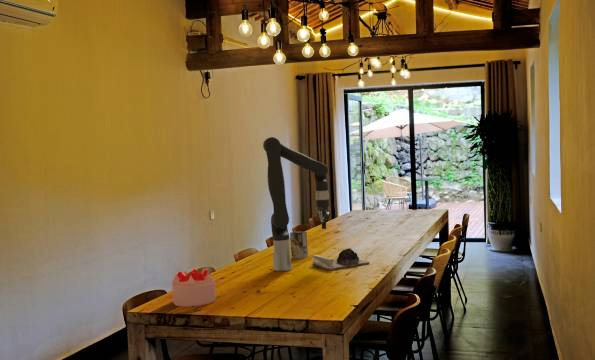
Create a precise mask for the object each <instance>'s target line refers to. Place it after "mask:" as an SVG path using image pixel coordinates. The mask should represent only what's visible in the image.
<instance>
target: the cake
mask: <svg viewBox="0 0 595 360" xmlns="http://www.w3.org/2000/svg"><path fill="white" fill-rule="evenodd" d="M171 284H172V285H171V287H172V288H171V289H172V300H173V301H172V302H173V305H174V306H176V307H180V308H181V307H182V308H184V307H186V308H191V307H192V306H193V307H200V306H206V305H208V304H212V303H213V302H215V301H216V300H217V291H216V280H215V279H214V277H213V276H212V275H211V271H209V269H205V268H203V269H202V271H201V272H200V271H199V270H198V269H196V268H194V269H193V270H192V271H191V272H189V273H188V272H187V270H185V271H184V273H183V272H182V271H178V272H177V273H176V274H175V276H174V278H173V280H172V281H171ZM193 307H192V308H193Z"/></svg>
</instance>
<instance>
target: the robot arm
mask: <svg viewBox="0 0 595 360" xmlns="http://www.w3.org/2000/svg"><path fill="white" fill-rule="evenodd" d="M262 147H263V149H264V151H265V154H266V159H267V185H268V186H267V187H268V191H269V196H270V198H271V202H272V206H273V213H272V214H271V217H270V226H271V234H272V235H271V236H272V240H273V241H272V242H273V243H272V244H273V253H272V259H273V260H272V261H273V270H274V271H275V272H285V271H287V272H288V271H290V270H292V254H291V241H290V232H289V229H288V224H289V223H290V216H289V212H288V208H287V201H286V200H287V198H286V185H285V177H284V171H283V167H282V161H281V160H282V158H283V159H285V160H286V161H290V162H291V163H293V164H294V165H296V166H299V167H300V168H303V169H304V170H307V171H310V172H312V173H313V175H314V180H315V181H314V182H315V207H316V208H318V209H317V210H318V211H317V212H315V213H316V216H317V218H318V221H319V222H320V223H321V229H322V230H326V229H327V222H329V219H330V216H331V212H329V208H328V207H330V194H329V184H328V181H327V174H328V172H329V168H328V166H327V165H326V164H324V163H323V162H320V161H318V160H315V159H314V158H312V157H309V156H308V155H305V154H303V153H301V152H298V151H296V150H293V149H292V148H290V147H287V146H285V145H283V143H281V142H280V140H279V138H278V137H275V136H270V137H268V138H266V139H264V141H263V144H262Z"/></svg>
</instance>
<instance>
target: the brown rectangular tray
mask: <svg viewBox="0 0 595 360" xmlns="http://www.w3.org/2000/svg"><path fill="white" fill-rule="evenodd" d="M369 264H370V261H366V260H362V259H359V263H356V264H339V263H337V259H333V258H329V257H326V256H322V255H318V254H314V255H313V254H312V264H311V265H312V267H315V268H319V269H323V270H326V271H330V272H331V271H335V270H341V269H347V268H353V267H354V268H355V267H359V266H363V265H369Z"/></svg>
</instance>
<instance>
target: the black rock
mask: <svg viewBox="0 0 595 360" xmlns="http://www.w3.org/2000/svg"><path fill="white" fill-rule="evenodd" d="M336 260H337V263H339V264H356V263H359V260H360V257H359V255H358V253H356V252H355V251H354V250H353V249H352V248H350V247H349V248H345V249H342V250H341V251H340V252H339V253H338V256H337V259H336Z"/></svg>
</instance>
